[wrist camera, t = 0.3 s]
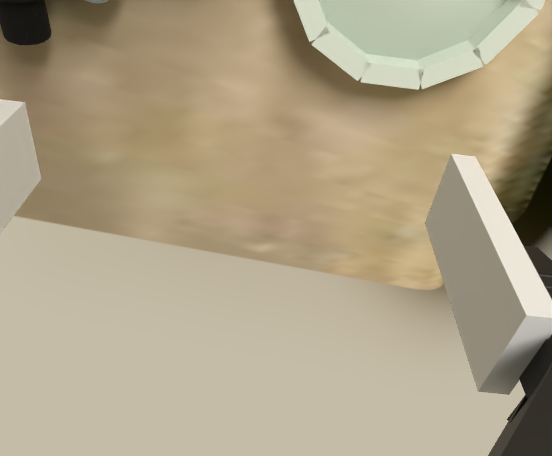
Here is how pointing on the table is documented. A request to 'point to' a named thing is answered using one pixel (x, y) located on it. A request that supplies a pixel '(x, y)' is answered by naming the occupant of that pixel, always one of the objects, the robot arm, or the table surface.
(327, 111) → the table surface
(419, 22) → the round bowl
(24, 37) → the figurine
